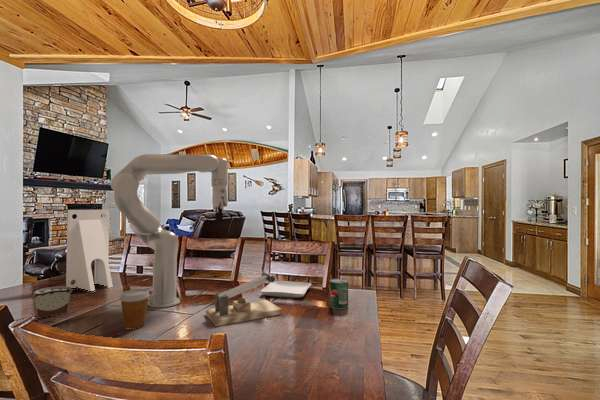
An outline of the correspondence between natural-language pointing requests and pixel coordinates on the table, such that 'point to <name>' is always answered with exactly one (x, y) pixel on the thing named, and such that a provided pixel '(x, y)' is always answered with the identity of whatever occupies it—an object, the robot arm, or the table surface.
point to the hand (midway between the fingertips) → (218, 221)
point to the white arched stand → (88, 249)
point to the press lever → (248, 285)
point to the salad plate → (286, 289)
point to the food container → (52, 300)
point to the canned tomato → (339, 293)
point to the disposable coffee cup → (134, 307)
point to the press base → (244, 316)
